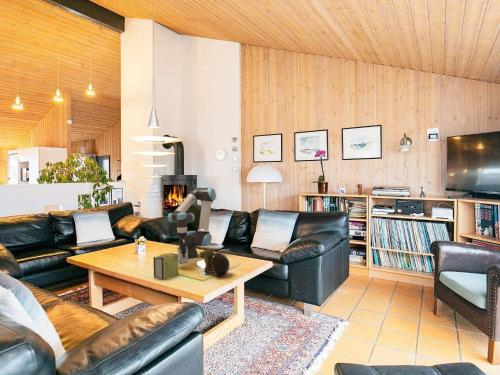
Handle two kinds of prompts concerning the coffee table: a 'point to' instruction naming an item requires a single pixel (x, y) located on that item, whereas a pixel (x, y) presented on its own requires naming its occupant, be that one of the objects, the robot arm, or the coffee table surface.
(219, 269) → the frog statue
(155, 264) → the protein box
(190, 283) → the coffee table surface
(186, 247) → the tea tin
